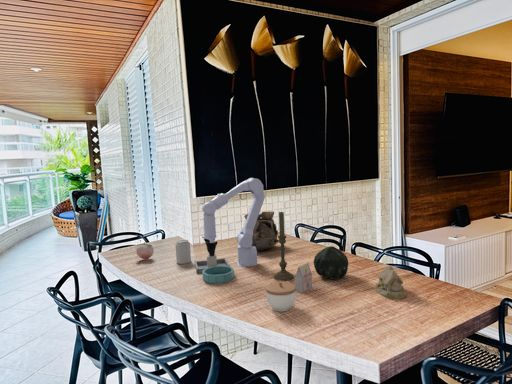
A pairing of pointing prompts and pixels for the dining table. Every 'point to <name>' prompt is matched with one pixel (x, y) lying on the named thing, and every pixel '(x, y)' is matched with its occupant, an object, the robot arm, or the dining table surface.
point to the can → (183, 252)
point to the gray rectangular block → (211, 260)
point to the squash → (331, 263)
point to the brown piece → (264, 231)
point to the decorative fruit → (145, 251)
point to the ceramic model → (390, 284)
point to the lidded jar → (281, 295)
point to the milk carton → (303, 278)
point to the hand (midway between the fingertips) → (211, 254)
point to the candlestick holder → (282, 252)
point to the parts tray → (203, 265)
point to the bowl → (218, 274)
